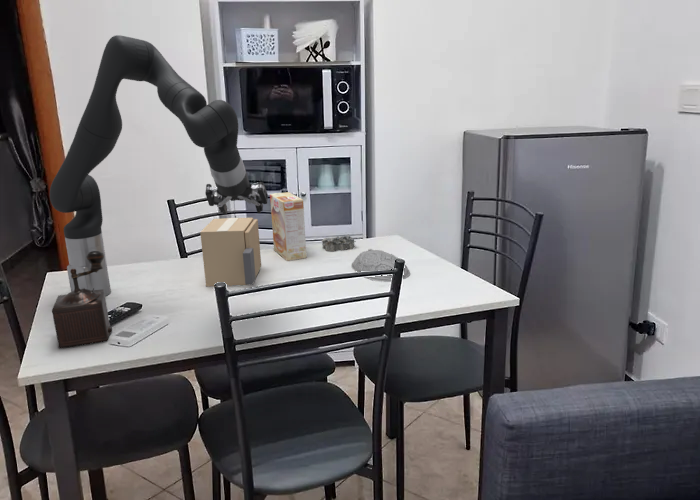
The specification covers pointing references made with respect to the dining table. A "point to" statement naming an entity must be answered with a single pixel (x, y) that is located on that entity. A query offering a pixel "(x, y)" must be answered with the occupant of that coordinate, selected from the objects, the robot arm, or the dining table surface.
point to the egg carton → (338, 243)
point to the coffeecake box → (288, 225)
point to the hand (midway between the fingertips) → (242, 210)
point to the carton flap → (252, 253)
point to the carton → (224, 250)
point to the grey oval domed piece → (376, 264)
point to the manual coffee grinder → (82, 311)
